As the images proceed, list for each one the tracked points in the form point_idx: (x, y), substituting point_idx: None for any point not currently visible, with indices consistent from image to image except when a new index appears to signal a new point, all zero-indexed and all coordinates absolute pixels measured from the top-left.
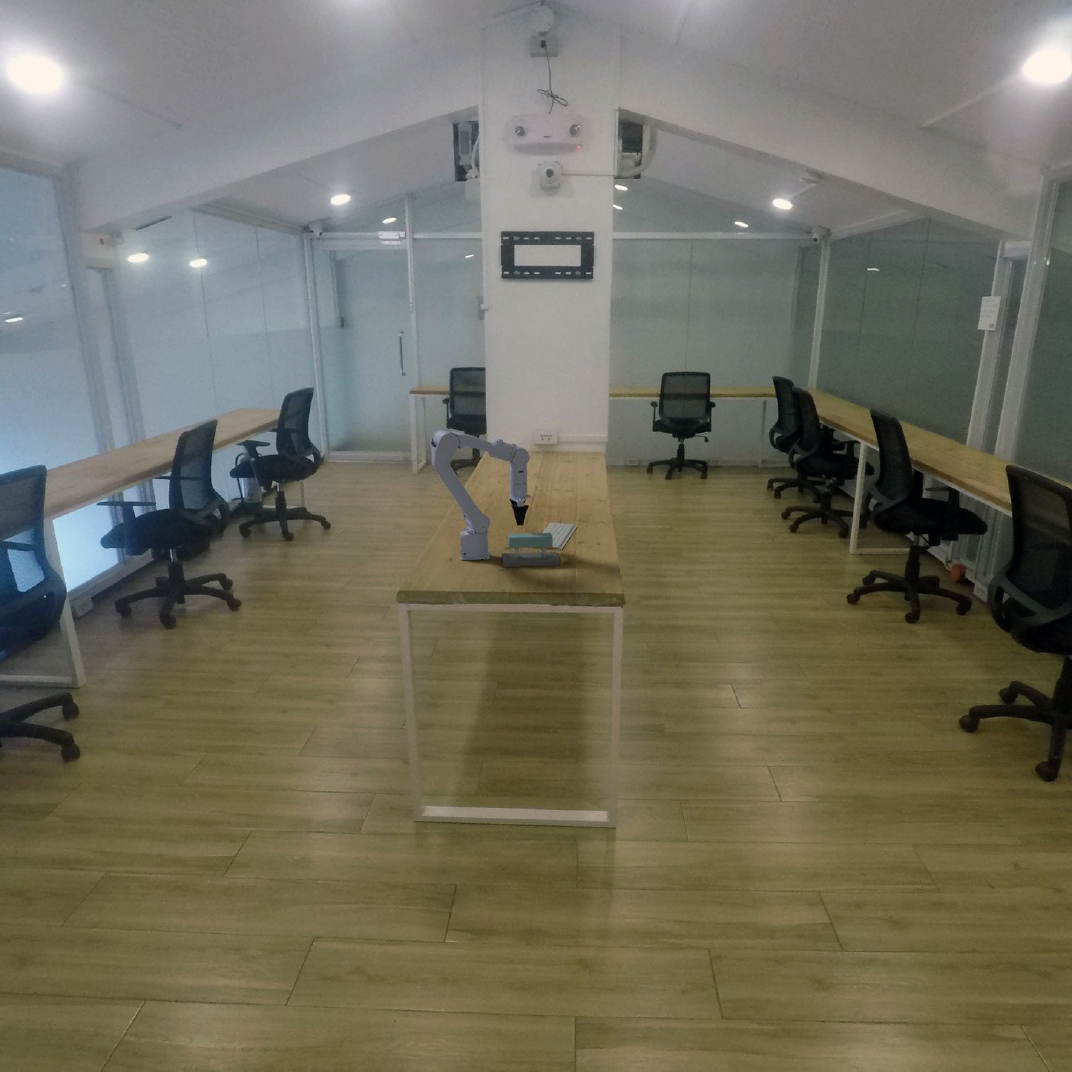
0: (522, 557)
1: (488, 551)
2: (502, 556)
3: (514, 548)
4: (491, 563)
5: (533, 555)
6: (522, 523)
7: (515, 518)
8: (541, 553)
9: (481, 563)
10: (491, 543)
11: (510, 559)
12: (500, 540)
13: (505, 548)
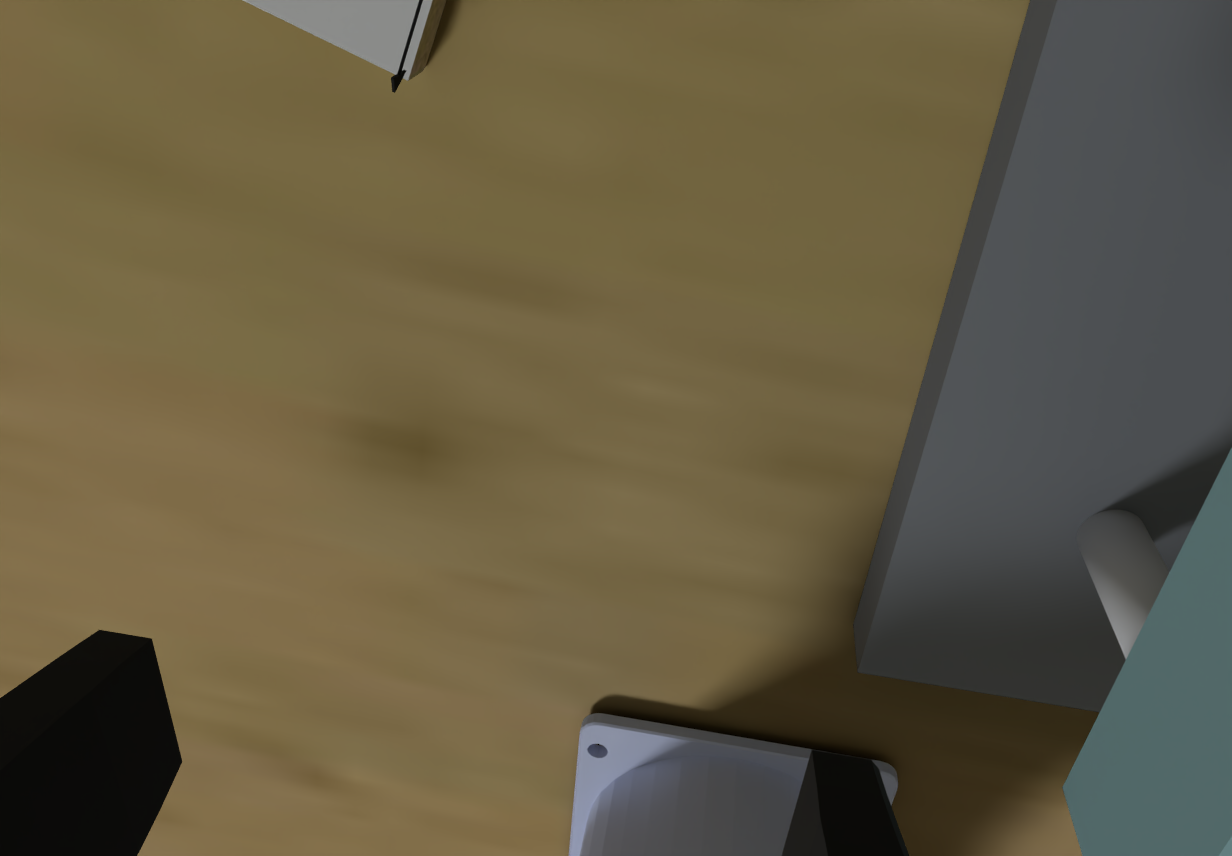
0: (1218, 458)
1: (606, 729)
2: (1015, 697)
3: None
4: (1049, 772)
5: (1198, 242)
6: (882, 836)
7: (163, 782)
8: (1141, 37)
9: (999, 851)
10: (186, 593)
11: None
12: (33, 465)
13: (420, 488)
